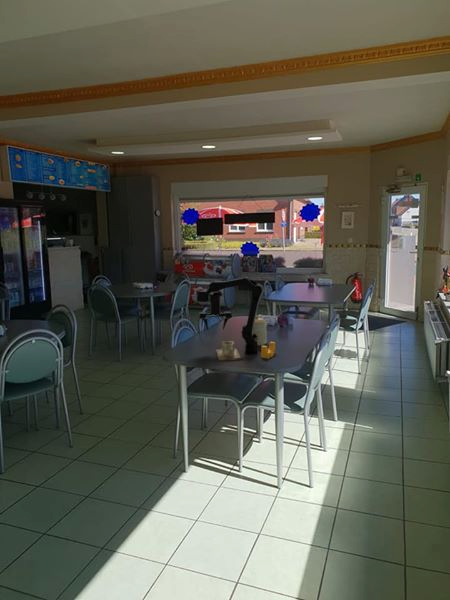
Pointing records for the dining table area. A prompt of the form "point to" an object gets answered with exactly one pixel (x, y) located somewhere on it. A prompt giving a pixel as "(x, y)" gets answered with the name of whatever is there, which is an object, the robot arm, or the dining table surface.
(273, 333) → the dining table surface
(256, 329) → the jar
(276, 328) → the dining table surface
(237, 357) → the post board
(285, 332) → the dining table surface
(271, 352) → the pipe clamp
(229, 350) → the collar
